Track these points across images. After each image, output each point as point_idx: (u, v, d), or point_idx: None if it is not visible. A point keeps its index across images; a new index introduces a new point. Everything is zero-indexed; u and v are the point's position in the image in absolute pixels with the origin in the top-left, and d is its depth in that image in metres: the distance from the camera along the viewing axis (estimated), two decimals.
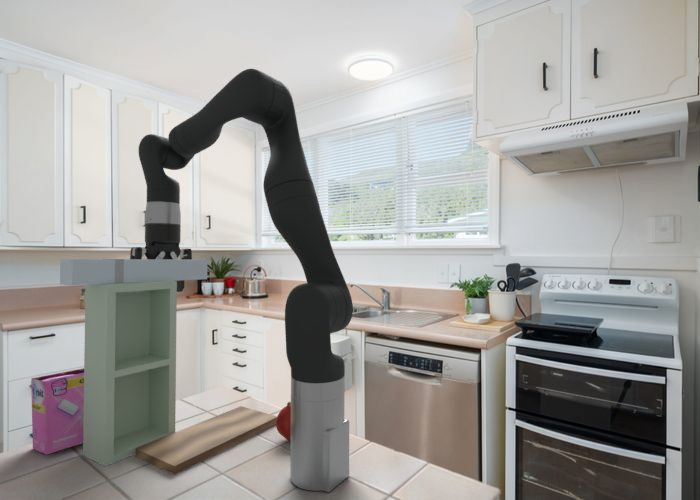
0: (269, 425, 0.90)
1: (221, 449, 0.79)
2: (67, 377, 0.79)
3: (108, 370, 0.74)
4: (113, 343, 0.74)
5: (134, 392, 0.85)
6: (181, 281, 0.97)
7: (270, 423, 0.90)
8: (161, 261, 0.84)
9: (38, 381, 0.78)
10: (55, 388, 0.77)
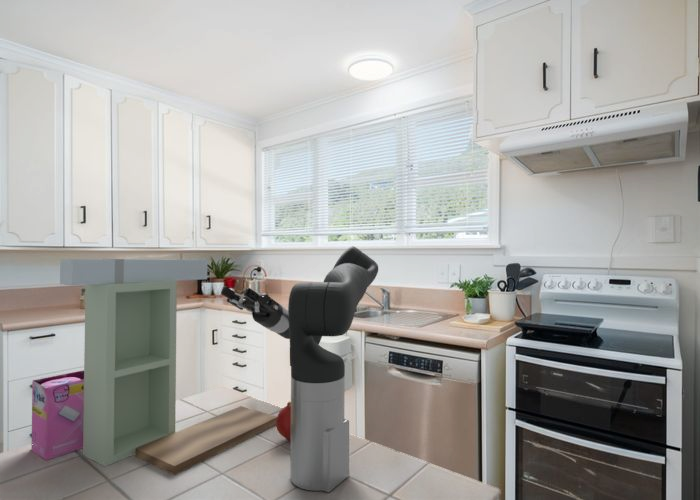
0: (269, 425, 0.90)
1: (221, 449, 0.79)
2: (69, 383, 0.78)
3: (108, 370, 0.74)
4: (113, 343, 0.74)
5: (134, 392, 0.85)
6: None
7: (270, 423, 0.90)
8: (161, 261, 0.84)
9: (40, 386, 0.77)
10: (57, 394, 0.77)
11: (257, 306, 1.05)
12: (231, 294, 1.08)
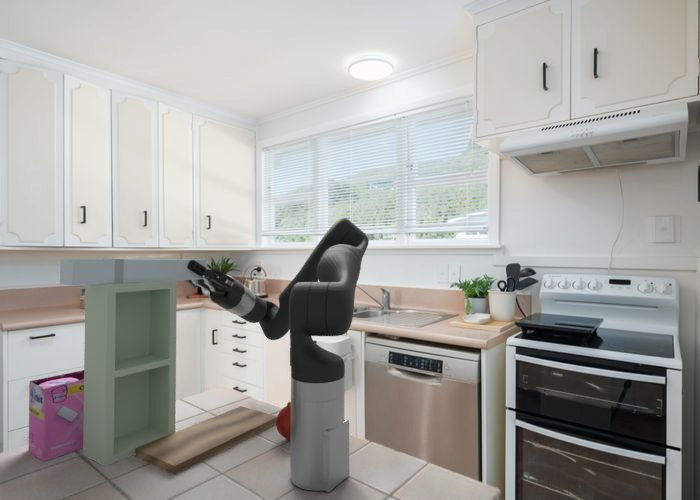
0: (269, 425, 0.90)
1: (221, 449, 0.79)
2: (67, 384, 0.78)
3: (108, 370, 0.74)
4: (113, 343, 0.74)
5: (134, 392, 0.85)
6: None
7: (270, 423, 0.90)
8: (161, 261, 0.84)
9: (37, 386, 0.76)
10: (55, 395, 0.76)
11: (206, 282, 0.94)
12: None
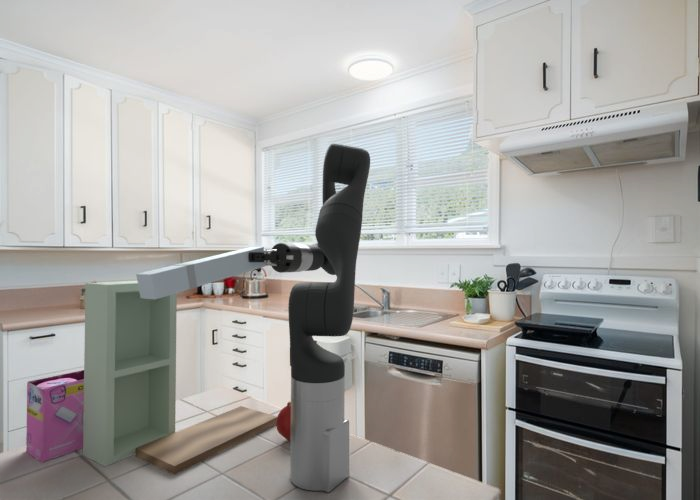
0: (269, 425, 0.90)
1: (221, 449, 0.79)
2: (66, 384, 0.78)
3: (108, 370, 0.74)
4: (113, 343, 0.74)
5: (134, 392, 0.85)
6: (257, 252, 0.92)
7: (270, 423, 0.90)
8: (225, 258, 0.85)
9: (36, 387, 0.76)
10: (53, 395, 0.76)
11: (269, 263, 0.95)
12: None
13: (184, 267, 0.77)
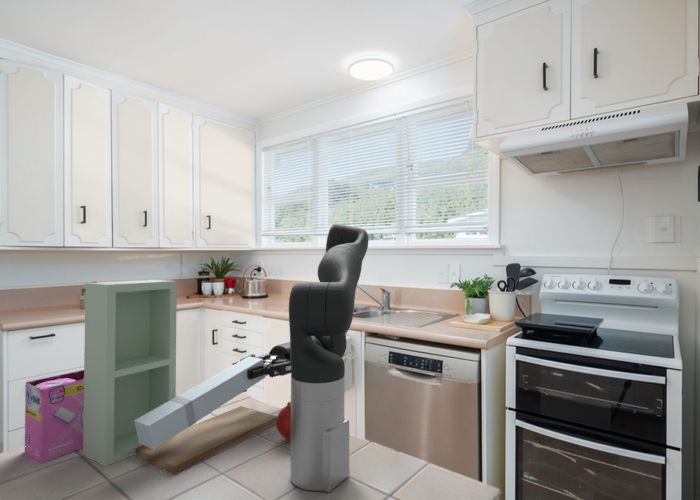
0: (269, 425, 0.90)
1: (221, 449, 0.79)
2: (65, 384, 0.78)
3: (108, 370, 0.74)
4: (113, 343, 0.74)
5: (134, 392, 0.85)
6: (256, 367, 0.92)
7: (270, 423, 0.90)
8: (224, 383, 0.84)
9: (34, 387, 0.76)
10: (52, 396, 0.76)
11: None
12: None
13: (182, 407, 0.76)
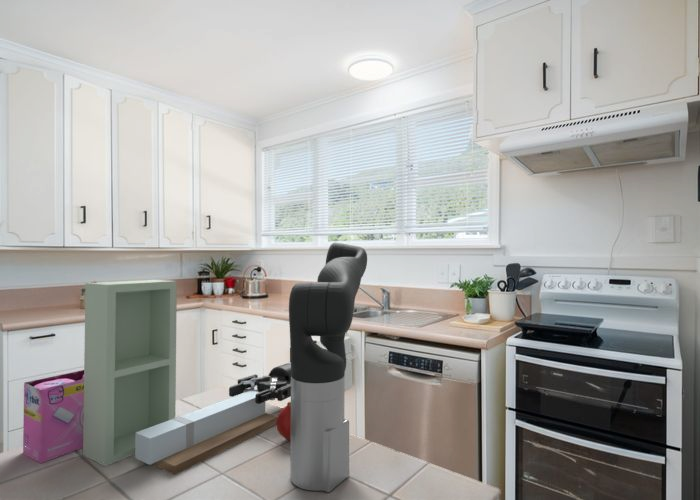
0: (269, 425, 0.90)
1: (221, 449, 0.79)
2: (64, 385, 0.77)
3: (108, 370, 0.74)
4: (113, 343, 0.74)
5: (134, 392, 0.85)
6: (264, 391, 0.91)
7: (270, 423, 0.90)
8: (226, 411, 0.85)
9: (33, 388, 0.76)
10: (51, 396, 0.76)
11: None
12: (240, 388, 0.96)
13: (184, 426, 0.76)
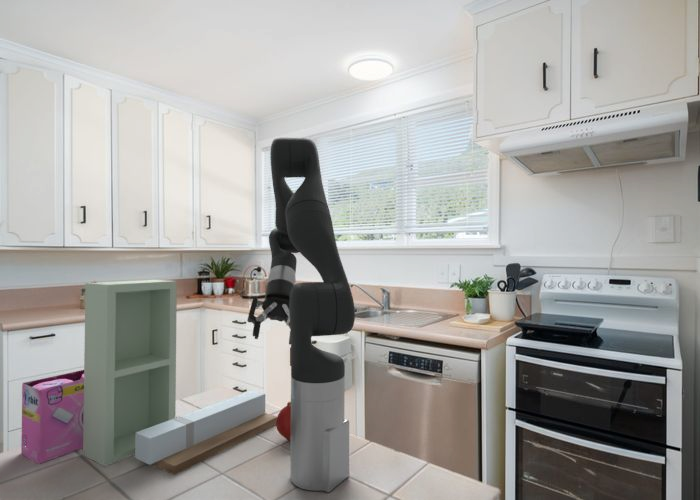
0: (269, 425, 0.90)
1: (221, 449, 0.79)
2: (63, 385, 0.77)
3: (108, 370, 0.74)
4: (113, 343, 0.74)
5: (134, 392, 0.85)
6: None
7: (270, 423, 0.90)
8: (226, 411, 0.85)
9: (32, 388, 0.75)
10: (50, 396, 0.75)
11: None
12: None
13: (184, 426, 0.76)
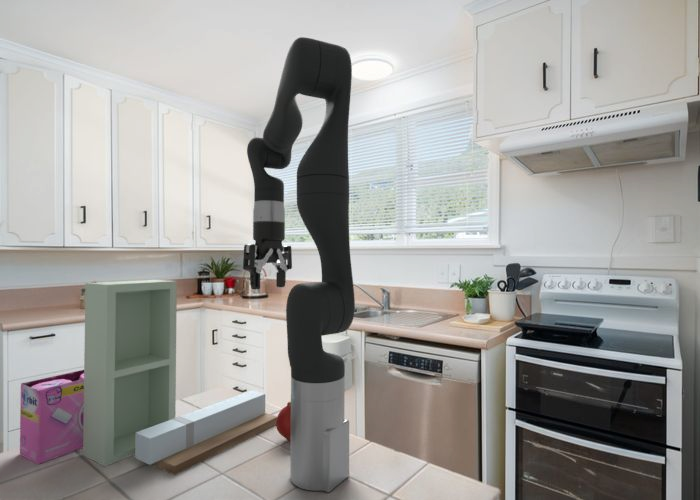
0: (269, 425, 0.90)
1: (221, 449, 0.79)
2: (62, 385, 0.77)
3: (108, 370, 0.74)
4: (113, 343, 0.74)
5: (134, 392, 0.85)
6: (283, 277, 1.01)
7: (270, 423, 0.90)
8: (226, 411, 0.85)
9: (31, 389, 0.75)
10: (49, 397, 0.75)
11: None
12: None
13: (184, 426, 0.76)
